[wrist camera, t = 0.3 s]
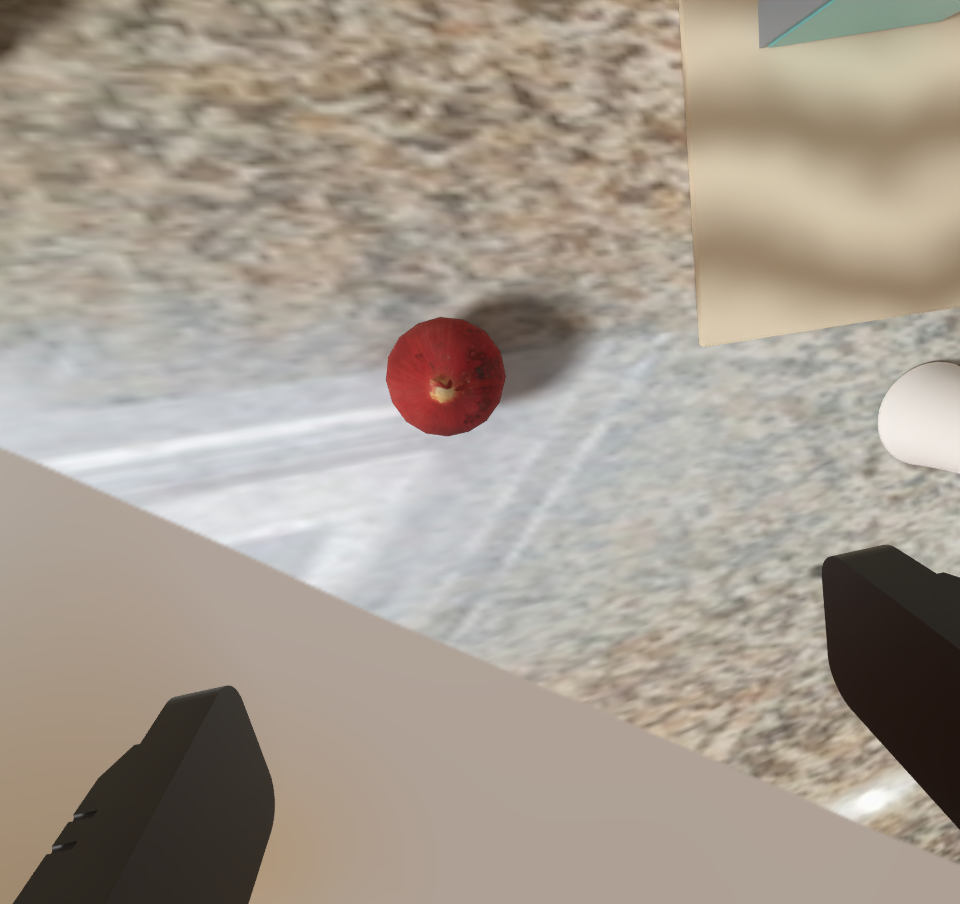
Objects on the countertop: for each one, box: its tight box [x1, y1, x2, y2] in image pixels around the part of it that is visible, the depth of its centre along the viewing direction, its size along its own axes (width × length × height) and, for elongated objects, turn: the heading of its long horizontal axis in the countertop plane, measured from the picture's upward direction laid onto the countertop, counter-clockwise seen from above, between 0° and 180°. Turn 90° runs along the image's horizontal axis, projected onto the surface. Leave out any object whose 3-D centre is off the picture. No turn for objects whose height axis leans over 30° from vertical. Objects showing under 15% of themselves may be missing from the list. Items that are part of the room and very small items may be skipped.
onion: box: [386, 317, 506, 436], centre depth 32 cm, size 6×6×8 cm
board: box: [679, 0, 960, 347], centre depth 33 cm, size 20×16×1 cm
